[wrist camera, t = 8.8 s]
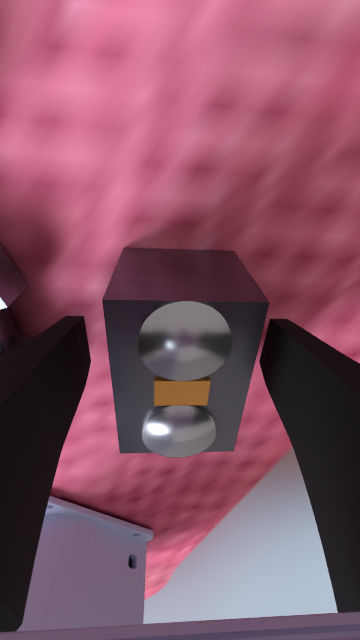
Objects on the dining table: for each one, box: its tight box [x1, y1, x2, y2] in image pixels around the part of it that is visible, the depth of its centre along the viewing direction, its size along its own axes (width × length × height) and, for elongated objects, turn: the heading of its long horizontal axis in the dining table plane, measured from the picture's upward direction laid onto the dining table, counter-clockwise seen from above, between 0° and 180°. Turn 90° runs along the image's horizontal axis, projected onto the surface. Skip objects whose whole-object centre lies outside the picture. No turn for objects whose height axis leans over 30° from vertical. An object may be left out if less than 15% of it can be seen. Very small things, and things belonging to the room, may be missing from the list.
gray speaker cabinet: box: [103, 248, 269, 458], centre depth 10 cm, size 6×4×4 cm, turn 177°
